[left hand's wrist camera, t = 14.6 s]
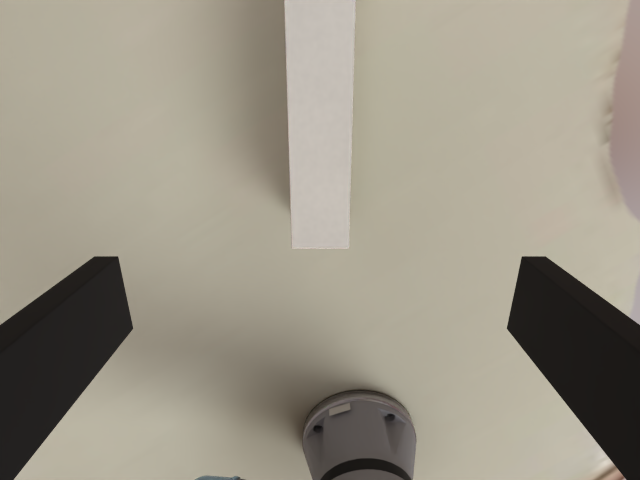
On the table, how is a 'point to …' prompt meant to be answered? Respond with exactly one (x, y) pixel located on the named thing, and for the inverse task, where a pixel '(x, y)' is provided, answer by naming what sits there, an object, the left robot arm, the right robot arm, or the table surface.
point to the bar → (320, 119)
